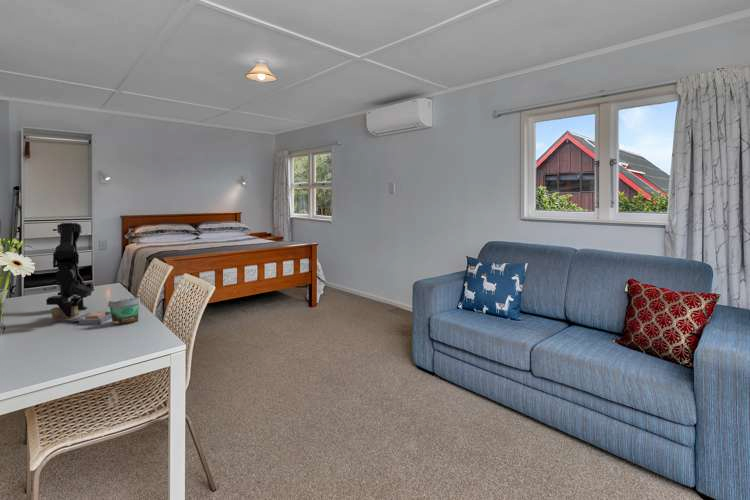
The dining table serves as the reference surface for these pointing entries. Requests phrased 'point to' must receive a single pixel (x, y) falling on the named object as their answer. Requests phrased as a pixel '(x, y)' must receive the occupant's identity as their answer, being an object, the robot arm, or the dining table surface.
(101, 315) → the salmon pink box
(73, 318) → the turner
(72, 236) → the robot arm
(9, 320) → the dining table surface
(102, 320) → the frame
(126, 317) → the food container
